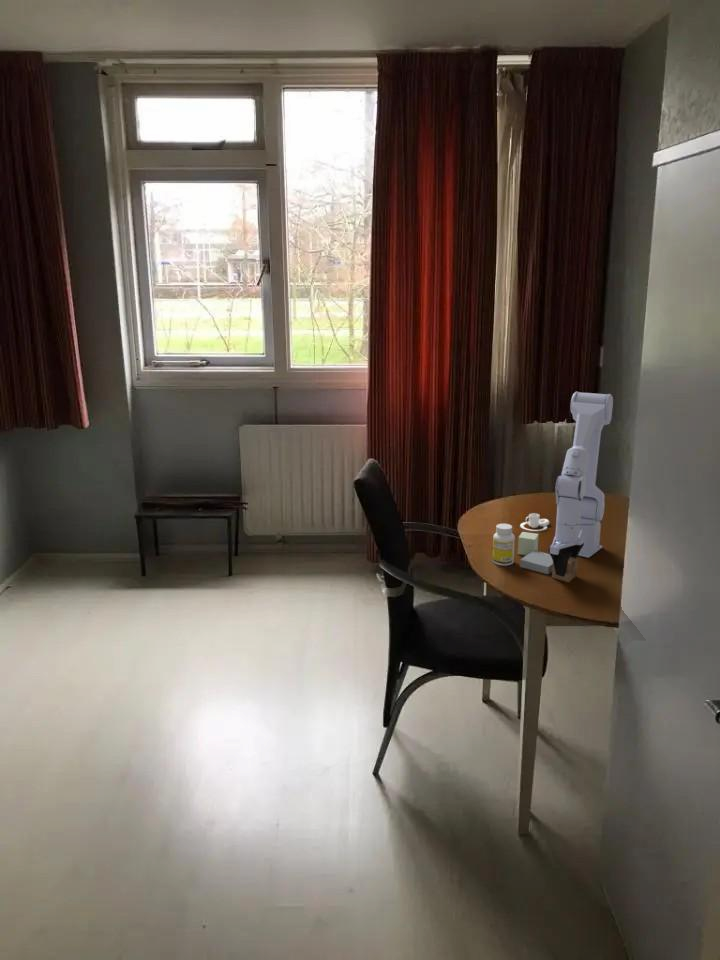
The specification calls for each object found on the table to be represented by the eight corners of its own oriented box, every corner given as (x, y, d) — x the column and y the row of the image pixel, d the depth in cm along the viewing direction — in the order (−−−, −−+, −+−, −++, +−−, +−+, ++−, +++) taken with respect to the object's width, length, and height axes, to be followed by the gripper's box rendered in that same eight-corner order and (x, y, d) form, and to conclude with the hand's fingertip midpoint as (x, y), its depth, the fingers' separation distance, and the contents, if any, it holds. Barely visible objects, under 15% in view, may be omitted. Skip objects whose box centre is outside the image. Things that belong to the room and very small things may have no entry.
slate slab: (533, 558, 208) (534, 550, 208) (561, 565, 204) (562, 557, 203) (519, 568, 203) (520, 559, 202) (547, 576, 198) (548, 567, 197)
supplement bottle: (498, 556, 209) (500, 520, 206) (517, 561, 206) (519, 525, 203) (488, 562, 205) (489, 526, 202) (507, 568, 202) (508, 531, 199)
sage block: (521, 548, 214) (522, 531, 213) (537, 550, 213) (538, 533, 211) (517, 554, 211) (518, 537, 209) (533, 556, 209) (535, 539, 207)
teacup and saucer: (547, 523, 234) (548, 510, 233) (551, 532, 226) (552, 519, 225) (518, 522, 235) (519, 510, 234) (521, 532, 227) (522, 519, 226)
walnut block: (559, 571, 199) (561, 554, 197) (576, 576, 196) (577, 558, 195) (551, 577, 196) (553, 559, 194) (568, 582, 193) (569, 563, 191)
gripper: (570, 533, 184) (566, 585, 188) (595, 517, 194) (591, 566, 198) (543, 527, 188) (540, 578, 192) (569, 511, 199) (565, 559, 203)
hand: (564, 571), depth 195 cm, fingers closed on walnut block, 4 cm apart
